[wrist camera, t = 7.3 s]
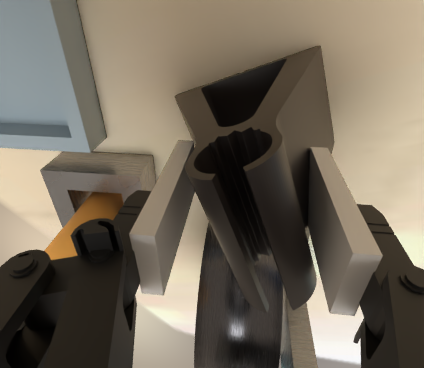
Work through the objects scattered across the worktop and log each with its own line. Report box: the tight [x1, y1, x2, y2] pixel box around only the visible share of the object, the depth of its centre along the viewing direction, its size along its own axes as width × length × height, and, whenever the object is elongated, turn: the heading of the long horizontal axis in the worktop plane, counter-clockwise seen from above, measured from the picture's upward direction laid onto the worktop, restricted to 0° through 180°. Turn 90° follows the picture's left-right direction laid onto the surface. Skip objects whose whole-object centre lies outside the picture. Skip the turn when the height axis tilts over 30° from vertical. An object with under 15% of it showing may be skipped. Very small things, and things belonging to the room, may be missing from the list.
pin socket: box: [40, 151, 156, 227], centre depth 22 cm, size 7×7×3 cm
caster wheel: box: [194, 222, 318, 368], centre depth 18 cm, size 11×8×15 cm
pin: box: [45, 192, 124, 260], centre depth 19 cm, size 3×3×11 cm
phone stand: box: [175, 46, 334, 313], centre depth 14 cm, size 9×6×12 cm, turn 110°
